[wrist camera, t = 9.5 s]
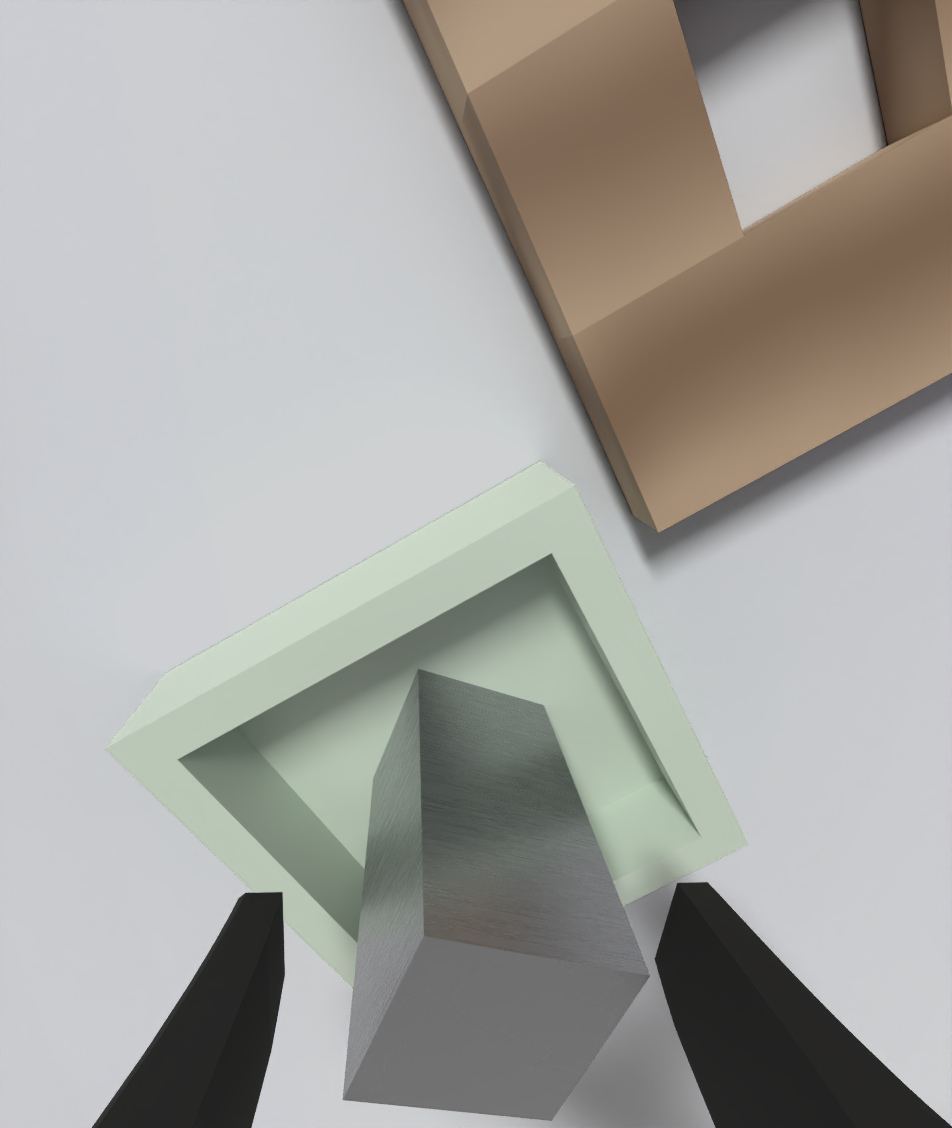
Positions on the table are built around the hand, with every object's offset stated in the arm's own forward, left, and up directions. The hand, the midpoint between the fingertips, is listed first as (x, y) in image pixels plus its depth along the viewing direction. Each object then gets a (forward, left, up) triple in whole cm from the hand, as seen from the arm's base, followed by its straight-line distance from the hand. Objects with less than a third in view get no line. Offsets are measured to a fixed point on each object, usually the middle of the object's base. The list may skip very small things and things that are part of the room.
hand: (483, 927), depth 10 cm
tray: (0, 0, -6) cm, 6 cm away
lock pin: (0, 0, -5) cm, 5 cm away
